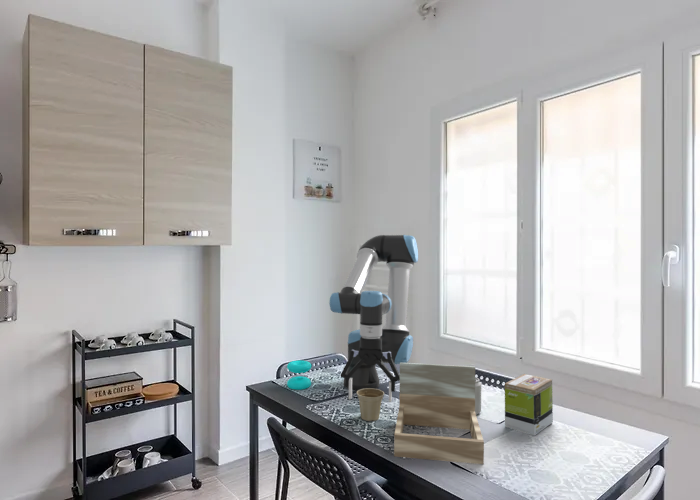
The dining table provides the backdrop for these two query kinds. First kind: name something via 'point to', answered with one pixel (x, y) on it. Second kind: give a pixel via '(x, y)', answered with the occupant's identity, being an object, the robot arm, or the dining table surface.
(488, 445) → the dining table surface
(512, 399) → the tea box
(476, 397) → the can
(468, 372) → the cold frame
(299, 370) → the donuts
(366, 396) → the flower pot
